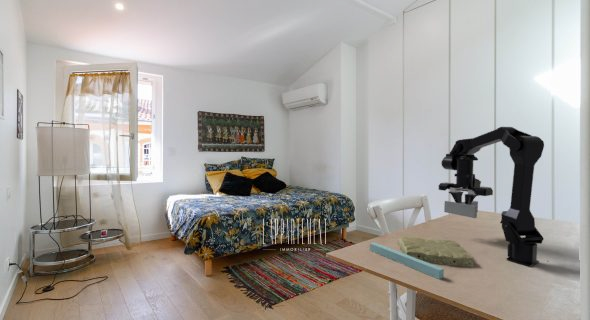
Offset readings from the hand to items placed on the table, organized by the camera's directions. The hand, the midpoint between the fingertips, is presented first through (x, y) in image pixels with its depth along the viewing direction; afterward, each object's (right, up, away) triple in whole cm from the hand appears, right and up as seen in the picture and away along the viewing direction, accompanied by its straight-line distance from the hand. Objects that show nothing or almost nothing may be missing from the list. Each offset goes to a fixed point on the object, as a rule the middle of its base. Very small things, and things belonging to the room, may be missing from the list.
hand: (463, 210), depth 118 cm
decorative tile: (-21, -13, -18) cm, 30 cm away
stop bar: (-34, -12, -25) cm, 44 cm away
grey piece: (+2, -1, +1) cm, 3 cm away
